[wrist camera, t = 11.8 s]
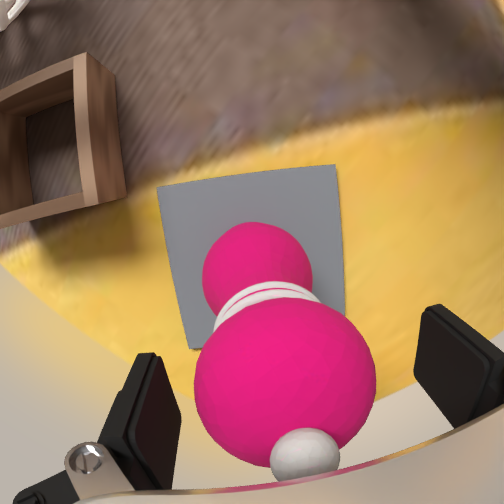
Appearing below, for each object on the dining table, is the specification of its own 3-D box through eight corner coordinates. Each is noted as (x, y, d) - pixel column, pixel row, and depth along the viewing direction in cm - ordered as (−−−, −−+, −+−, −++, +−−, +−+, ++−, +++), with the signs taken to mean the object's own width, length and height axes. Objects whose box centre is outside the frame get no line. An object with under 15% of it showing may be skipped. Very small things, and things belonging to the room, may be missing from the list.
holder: (17, 111, 21) (-22, 102, 15) (114, 75, 21) (86, 51, 15) (28, 219, 23) (-11, 232, 18) (127, 196, 24) (98, 203, 18)
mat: (158, 187, 24) (156, 187, 23) (332, 164, 24) (335, 164, 24) (189, 345, 27) (189, 348, 27) (342, 322, 28) (344, 325, 27)
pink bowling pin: (249, 319, 26) (283, 552, 7) (187, 258, 25) (95, 472, 5) (315, 262, 26) (472, 443, 6) (256, 195, 24) (363, 282, 5)
